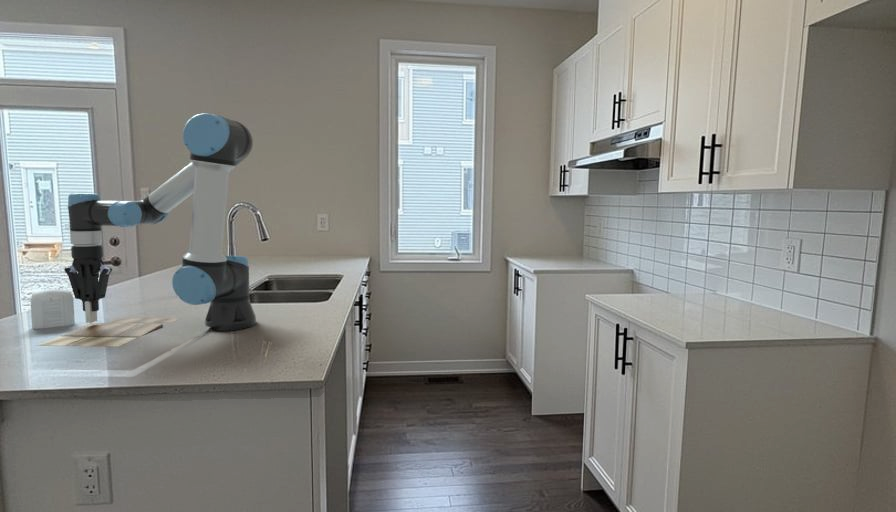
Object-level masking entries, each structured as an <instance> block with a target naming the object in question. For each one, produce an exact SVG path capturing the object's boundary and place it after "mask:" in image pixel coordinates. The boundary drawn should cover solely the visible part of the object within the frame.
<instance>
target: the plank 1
mask: <svg viewBox="0 0 896 512" xmlns="http://www.w3.org/2000/svg"><path fill="white" fill-rule="evenodd" d="M163 327H164V323H107V322H92V323H87V324H86V325H84V326H81V327H79V328H76V329H75V330H72V331H70V332H68V333H65V334H64V335H66V336H126V337H139V338H141V337H142V336H145V335H147V334H149V333H152V332H154V331H156V330H158V329H160V328H163Z"/></svg>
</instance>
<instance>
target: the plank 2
mask: <svg viewBox="0 0 896 512" xmlns="http://www.w3.org/2000/svg"><path fill="white" fill-rule="evenodd" d="M180 319H181V318H180V317H179V318H178V317H174V318H172V317H171V318H170V317H169V318H167V317H165V318H163V317H161V318H160V317H159V318H158V317H157V318H156V317H154V318H151V317H150V318H149V317H148V318H139V317H138V318H133V317H132V318H130V317H129V318H127V317H126V318H115V319H113V320H110V321H107V322H106V323H138V324H164V323H165V324H167V323H168V324H171V323H174V322H176V321H178V320H180Z"/></svg>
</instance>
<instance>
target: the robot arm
mask: <svg viewBox="0 0 896 512" xmlns="http://www.w3.org/2000/svg"><path fill="white" fill-rule="evenodd" d="M183 127H184V128H183V130H182V141H183V144H184V145H185V146H186V149H187V150H188V151H189V152H190V154H189V155H190V156H189V161H190V163H188V164H187V165H185V166H184V167H183V168H182V169H181V170H179V171H178V172H177V173H175V174H174V175H173V176H171V177H170V178H169V179H167V180H166V181H165V182H164V183H162V184H161V185H160V186H158V187H157V188H156V189H155V190H153V191H151V192H150V194H148V195H147V196H145V197H144V198H143V199H141V200H102V199H100V195H99V194H98V193H89V192H88V193H87V192H86V193H83V192H74V193H73V192H72V193H70V194H69V195H68V197H67V210H68V220H69V222H68V223H69V234H70V235H69V237H70V241H69V242H70V244H71V245H72V246H71V248H70V250H71V251H70V253H71V257H72V259H73V260H72V263H71V265H69V266H68V267H65V268H63V269H64V272H65V274H66V275H67V276H68V280H69V283H70V287H71V290H72V292H73V296H74V298H75V299H76V300H81V302H82V303H81V304H82V310H83V312H84V313H85V323H87V324H90V323H96V322H97V321H98V311H99V310H100V307H99V306H100V305H99V303H100V302H99V301H100V300H102V299H104V298H106V293H107V289H108V282H109V278H110V275H111V273H112V271H113V268H112V267H107V266H106V265H105V263H104V261H103V257H104V252H103V251H104V250H103V249H104V248H103V245H101V244H102V243H103V237H102V226H105V227H106V226H107V227H120V228H125V227H126V228H127V227H128V228H129V227H135V226H139V225H142V226H143V225H156V224H160V223H164V222H165V221H166V220H167V218H168V217H169V212H171V210H173V209H175V208H176V207H177V206H179V205H180V204H181V203H183V202H184V201H185V200H186V199H188V198H190V196H192V195H193V197H192V210H191V211H192V214H191V222H190V224H191V225H190V238H189V250H188V251H187V252H186V253H184V254H183V256H182V260H181V261H182V263H181V267H180V268H178V269H177V271H175V272H174V274H173V276H172V282H171V285H172V290H173V291H174V293H175V295H176V296H178V298H179V299H180V301H182V302H184V303H186V304H188V305H191V306H199V305H206V304H209V307H208V310H207V313H206V317H205V320H204V324H205V326H206V327H209V328H208V330H209V331H215V332H226V331H227V332H230V331H238V330H243V328H244V329H248V328H251V327H253V326H255V325H256V324H257V317H256V314H255V311H254V309H253V306H252V303H251V300H250V299H251V298H250V265H249V259H248V257H246V256H244V255H224V253H223V246H224V234H225V225H226V224H225V223H226V213H227V212H226V211H227V201H228V199H227V198H228V189H229V187H228V186H229V175H230V172H231V171H232V170H234V168H236V167H237V166H238V165H239V164H240V163H242V162H243V161H245V159H246V158H247V157H248V156H249V155H250V154H251V152H252V149H253V145H254V141H253V140H254V139H253V135H252V134H251V131H250V130H249V129H248V127H247V126H245V125H244V124H243V123H242V122H239V121H237V120H234V119H233V120H232V119H230V118H227V117H224V116H221V115H217V114H213V113H204V112H203V113H198V114H195V115H194V116H192V117H191V118H190V119H188V120H187V122H186V123H185V125H184V126H183ZM255 323H256V324H255ZM254 324H255V325H254ZM252 325H253V326H252ZM250 326H251V327H250ZM247 327H248V328H247Z"/></svg>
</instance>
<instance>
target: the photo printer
mask: <svg viewBox="0 0 896 512" xmlns="http://www.w3.org/2000/svg"><path fill="white" fill-rule="evenodd" d="M73 296H74V295H73V294H72V291H71V290H65V289H45V290H41V291H37V292H34V293H31V297H30V300H29V301H30V315H31V328H32V330H36V329H50V328H58V327H67V326H73V325H75V324H76V321H75V305H74V304H75V302H74V297H73Z"/></svg>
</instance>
